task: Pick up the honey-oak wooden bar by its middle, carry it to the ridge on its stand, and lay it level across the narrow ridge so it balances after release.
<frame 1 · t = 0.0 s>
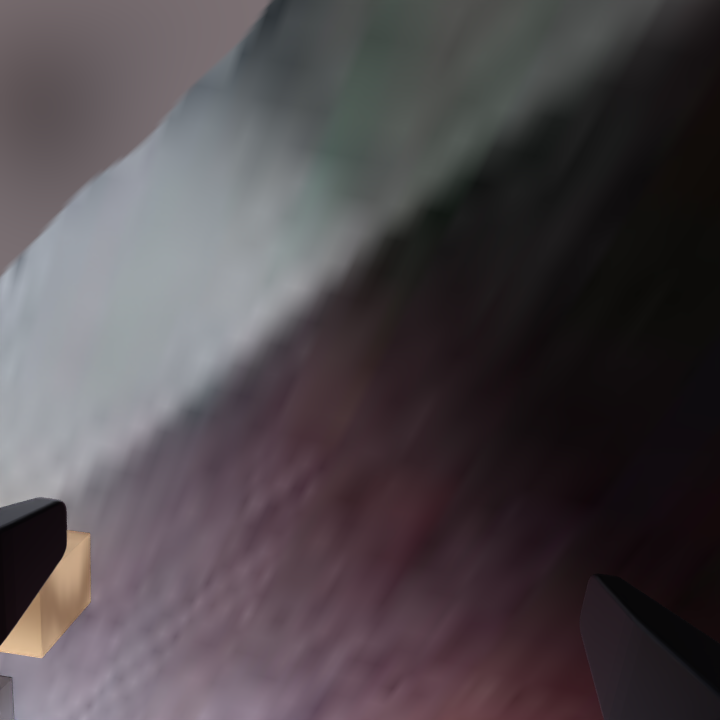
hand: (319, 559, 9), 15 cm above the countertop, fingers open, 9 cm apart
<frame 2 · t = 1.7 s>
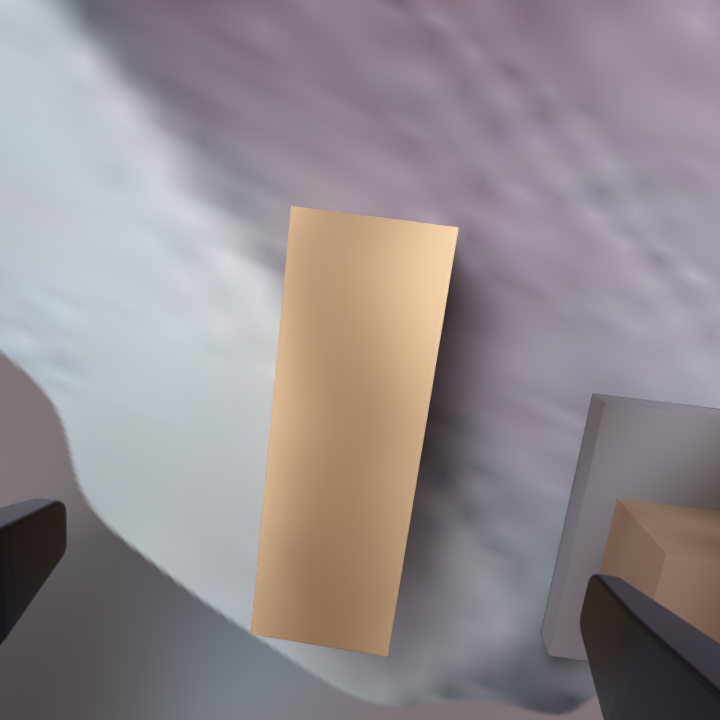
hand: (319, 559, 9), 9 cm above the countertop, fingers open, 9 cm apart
oak bar: (355, 406, 17), on the countertop
balance stand: (700, 538, 17), on the countertop
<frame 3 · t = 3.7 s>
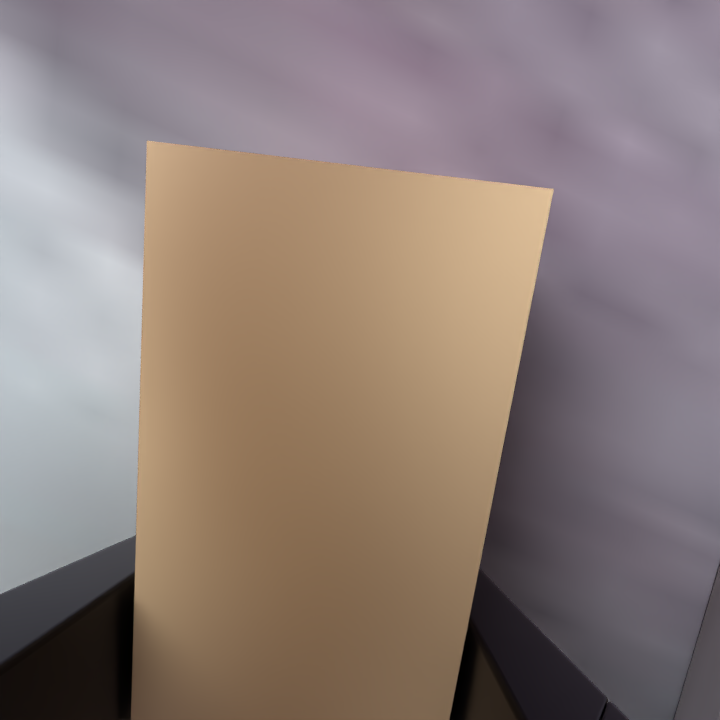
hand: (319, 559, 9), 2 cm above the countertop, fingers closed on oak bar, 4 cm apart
oak bar: (331, 513, 10), on the countertop, touching gripper
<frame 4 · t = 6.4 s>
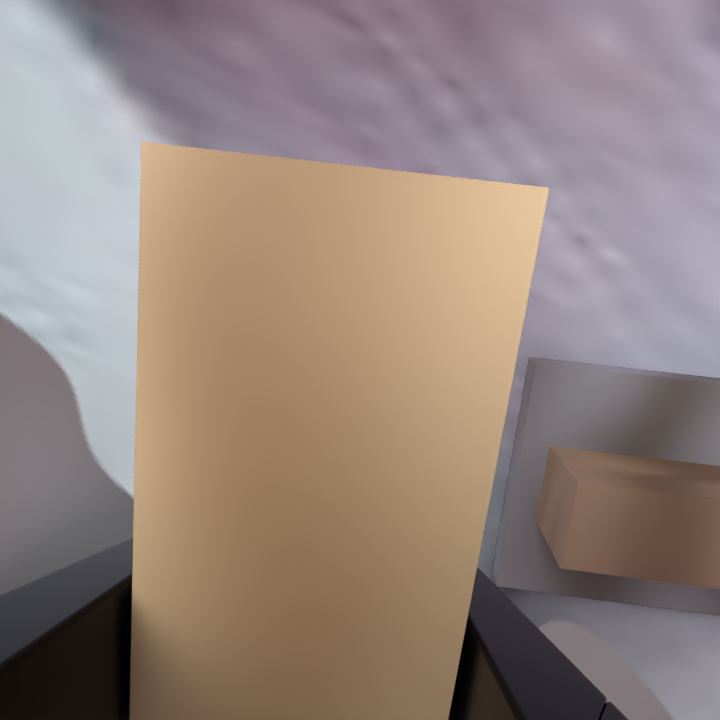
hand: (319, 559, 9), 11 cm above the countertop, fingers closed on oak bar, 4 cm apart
oak bar: (330, 513, 10), point 10 cm above the countertop, touching gripper
balance stand: (626, 483, 20), on the countertop
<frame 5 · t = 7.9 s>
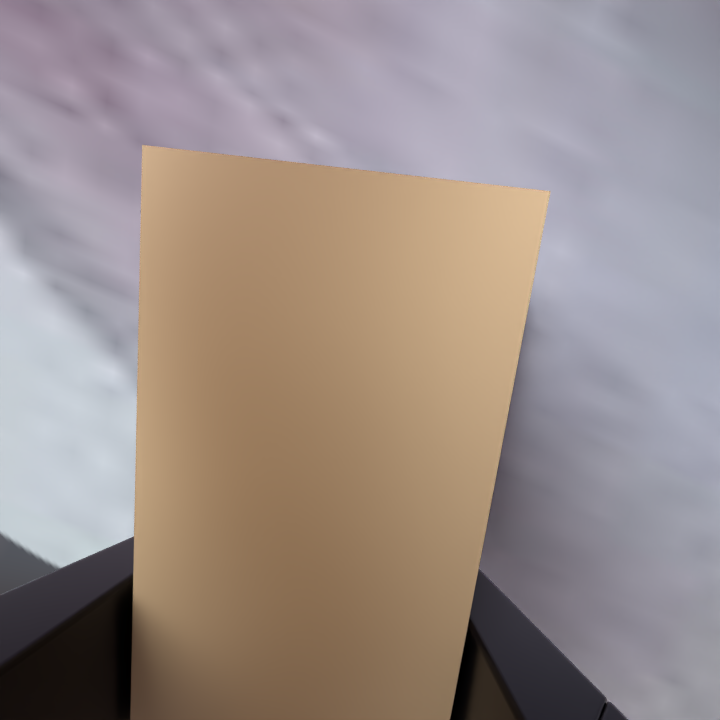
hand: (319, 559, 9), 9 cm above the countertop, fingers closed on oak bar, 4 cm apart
oak bar: (330, 515, 10), point 8 cm above the countertop, touching gripper
when the fingers open (6 cm above the countertop, at t = 9.2 s): oak bar stays where it is, resting on balance stand.
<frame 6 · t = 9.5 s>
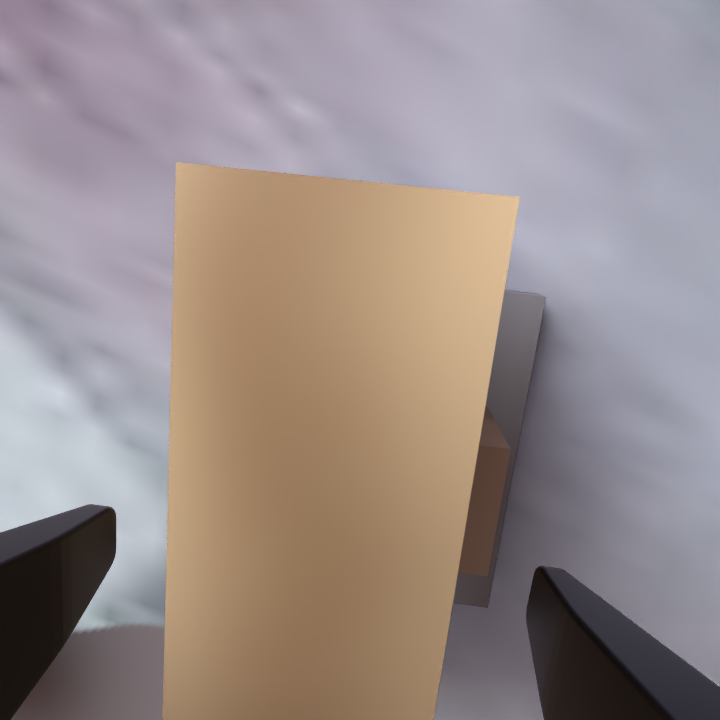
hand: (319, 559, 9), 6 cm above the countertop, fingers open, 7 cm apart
oak bar: (336, 493, 11), point 4 cm above the countertop, touching balance stand
balance stand: (352, 429, 15), on the countertop
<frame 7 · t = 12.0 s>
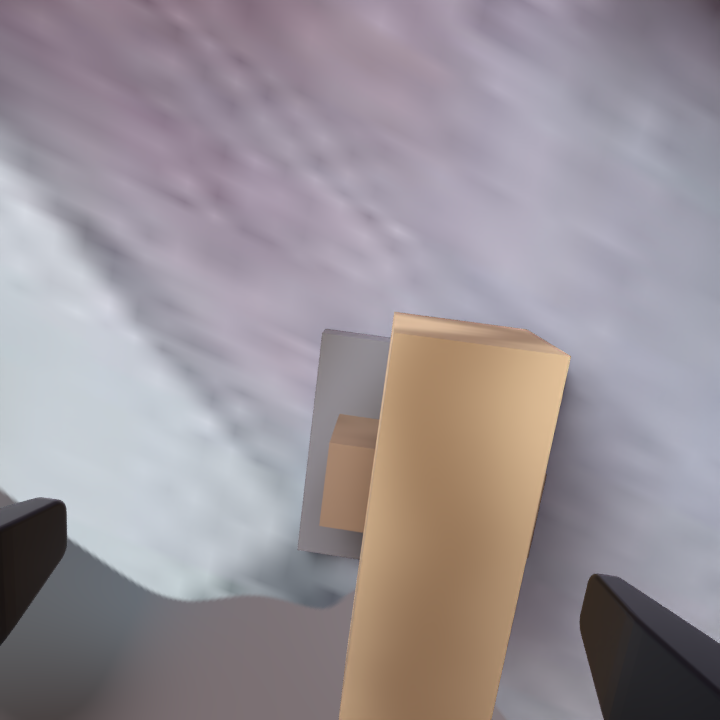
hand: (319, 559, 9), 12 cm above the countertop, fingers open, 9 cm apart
oak bar: (429, 501, 17), point 4 cm above the countertop, touching balance stand
balance stand: (423, 453, 21), on the countertop
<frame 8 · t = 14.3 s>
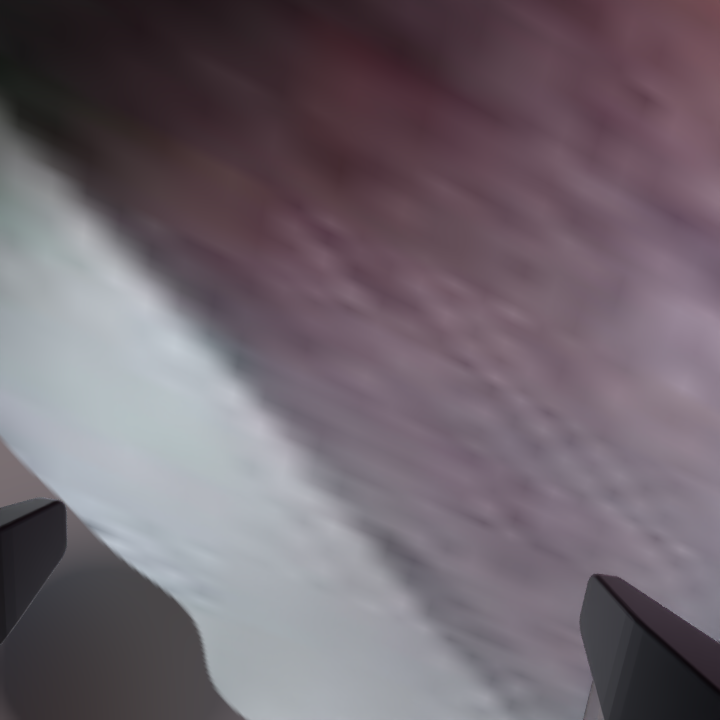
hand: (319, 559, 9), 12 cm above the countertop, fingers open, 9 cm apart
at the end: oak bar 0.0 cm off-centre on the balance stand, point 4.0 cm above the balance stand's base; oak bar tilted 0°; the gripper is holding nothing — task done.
